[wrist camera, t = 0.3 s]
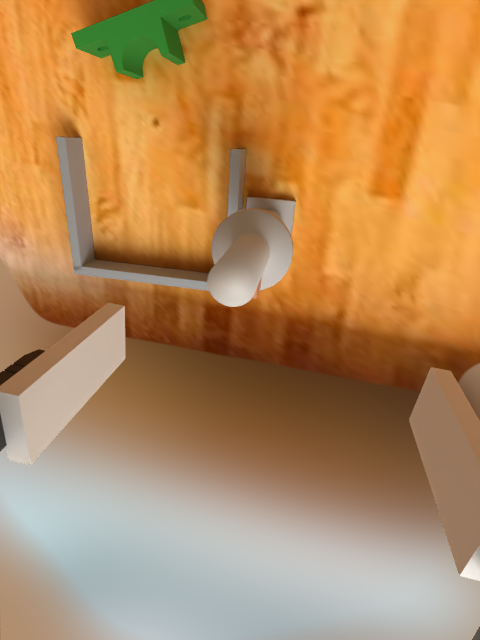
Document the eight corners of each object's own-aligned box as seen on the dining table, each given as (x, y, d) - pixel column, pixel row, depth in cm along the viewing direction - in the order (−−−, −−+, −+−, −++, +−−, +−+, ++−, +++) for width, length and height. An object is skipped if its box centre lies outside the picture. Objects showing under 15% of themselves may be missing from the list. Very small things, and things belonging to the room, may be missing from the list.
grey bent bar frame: (73, 137, 41) (-118, 131, 23) (308, 153, 37) (299, 162, 19) (88, 266, 47) (-52, 341, 29) (291, 291, 43) (272, 393, 26)
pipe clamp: (112, 88, 38) (87, 82, 34) (98, 45, 37) (70, 33, 33) (215, 52, 35) (201, 41, 31) (204, 4, 34) (188, -15, 30)
